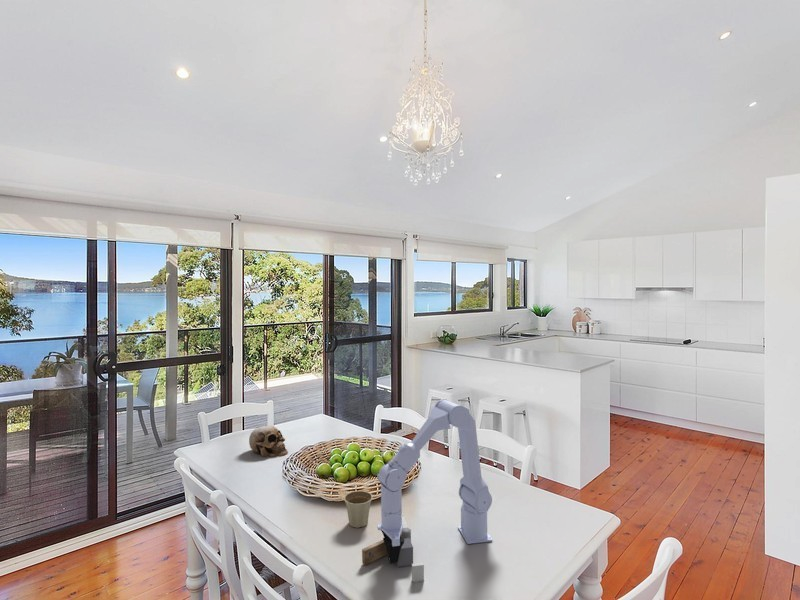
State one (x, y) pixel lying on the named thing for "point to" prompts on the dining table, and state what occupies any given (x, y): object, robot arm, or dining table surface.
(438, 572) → the dining table surface
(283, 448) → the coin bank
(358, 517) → the flower pot
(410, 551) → the block
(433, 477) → the dining table surface
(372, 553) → the door
